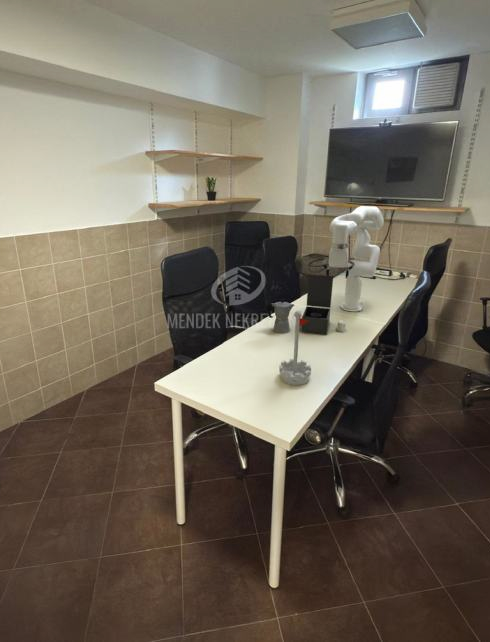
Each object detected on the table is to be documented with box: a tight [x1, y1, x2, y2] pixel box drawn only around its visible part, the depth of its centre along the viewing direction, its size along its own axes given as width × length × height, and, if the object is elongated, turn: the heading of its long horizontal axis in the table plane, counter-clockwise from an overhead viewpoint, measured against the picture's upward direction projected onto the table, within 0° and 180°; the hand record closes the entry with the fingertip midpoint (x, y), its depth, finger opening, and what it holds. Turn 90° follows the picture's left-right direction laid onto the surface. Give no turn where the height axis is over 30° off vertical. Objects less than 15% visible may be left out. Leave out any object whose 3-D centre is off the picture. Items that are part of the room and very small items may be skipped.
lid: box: [306, 273, 334, 309], centre depth 206 cm, size 18×14×5 cm
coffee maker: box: [300, 305, 331, 336], centre depth 199 cm, size 18×14×9 cm
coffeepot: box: [265, 298, 296, 334], centre depth 195 cm, size 15×9×18 cm, turn 92°
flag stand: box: [278, 310, 312, 386], centre depth 145 cm, size 13×13×30 cm
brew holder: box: [310, 312, 322, 318], centre depth 196 cm, size 6×6×9 cm
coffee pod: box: [336, 319, 347, 333], centre depth 196 cm, size 4×4×5 cm
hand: (337, 277), depth 196 cm, fingers open, 9 cm apart
